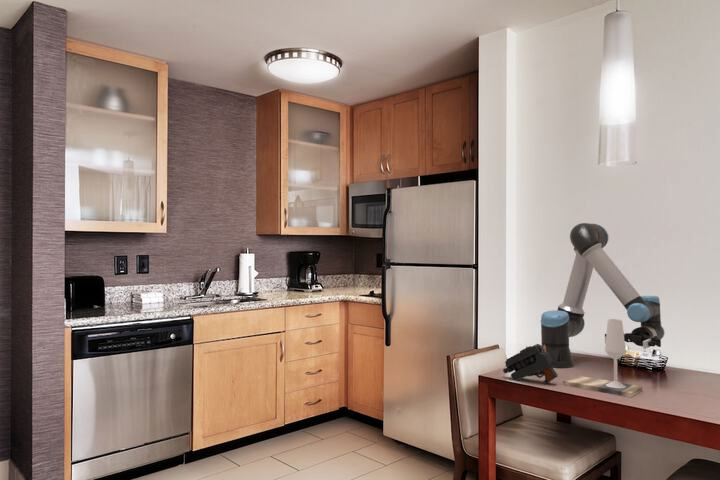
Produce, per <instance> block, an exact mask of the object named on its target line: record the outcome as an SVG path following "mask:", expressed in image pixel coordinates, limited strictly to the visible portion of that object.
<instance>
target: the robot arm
mask: <svg viewBox="0 0 720 480" xmlns="http://www.w3.org/2000/svg"><path fill="white" fill-rule="evenodd" d="M569 240H570V242H571V245H572V246H573V251H574V253H575V256H574V261H573V265H572V269H571V272H570V276H569V279H568V282H567V286H566V290H565V293H564V298H563V302H562V303H560V304H559V305H557V306H558V307H557V310H554V309H553V310H547V311H545V312H543V313H541V318H540V327H541V328H540V329H541V330H540V331H541V332H540V333H541V336H540V337H541V340H540V341H541V346H542V349H543V346H544V345H545V347H546V352H548V353H549V354H550V356H551V358H552V360H553V365H551V366H552V368H563V369H564V368H571V367H574V366H575V364H574V363H575V362H574V361H575V360H574V358H573V355H572V354H573V353H572V352H571V349H570V338H573V337H576V336H578V335H579V334H581V333H582V332H583V330H584V327H585V319H584V316H585V311H584V309H583V306H584V303H585V300H586V296H587V292H588V288H589V285H590V281H591V278H592V274H593V271H594V270H595V271H596V272H597V274H598V276H600V277H601V279H602V281H603V282H604V283H605V284H606V286H607V287H608V288H609V289H610V291H611V292H612V293H613V294H614V295H615V297H616V298H617V299H618V300H619V302H620V303H621V304H622V306H623V307H624V308H625V310H626V313H627V316H628V318H629V320H631V321H633V322H636V323H640V326H638V327H636V328H634V329H632V331H631V332H625V333H624V341H625V343H633V344H634V345H635V346H638V347H642V349H643V350H645V349H648V348H651V347H653V348H654V347H658V348H661V347H662V339H663V338H664V336H665V329H664V327H663V326H662V321H661V319H662V318H661V302H660V301H661V300H660V297H659V296H657V295H640V293H639V292H638V291H637V289H635V287H634V286H633V285H632V283H631V282H630V281H629V280H628V279H627V278H626V276H625V275H624V273H623V272H622V271H621V270H620V269H619V267H618V266H617V265H616V264H615V262H614V261H613V260H612V259H611V257H610V256H609V255H608V253H606V251H605V250H604V249H603V248H605V247H606V246H607V245H608V242H609V233H608V231H607V229H606V228H605V227H603V226H602V225H600V224H597V223H588V222H581V223H577V224H575V226H573V228H572V229H571V231H570V233H569ZM606 334H607V333H605V334H604V345H606Z"/></svg>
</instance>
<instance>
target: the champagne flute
mask: <svg viewBox="0 0 720 480" xmlns="http://www.w3.org/2000/svg"><path fill="white" fill-rule="evenodd" d="M605 334H606V344H605V347H604V350H605V353H606V354H607V355H608V356H609V357H610V358H611V359H613V380H611V381H612V382H610V383H608V384H606V386H608V387H612V388H626V386H624V385H623V384H621V383H622V382H620V381H619V380H618V360H619V359H620V358H622V357H623V356H624V355H625V353H626V342H625V341H624V334H625V333H624V325H623V320H622V319H616V318H612V319H611V318H610V319H609V318H608V319H607V325H606V333H605Z"/></svg>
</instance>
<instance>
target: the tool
mask: <svg viewBox="0 0 720 480" xmlns="http://www.w3.org/2000/svg"><path fill="white" fill-rule="evenodd" d="M530 346H531V345H529V346H527V348H526V347H525V348H523V349H521V350H519V352H518V353H516V354H514V355H512V356H510V357H509V358H507V359H506V360H505V368H503V369H502V372H503V373H504V374H507V373H509V374H510V373H511V372H512V373H511V374H510V377H511V378H512V380H513V381H515V380H516V381H518V380H520V379H523V378H526V377H529V376H528V375H531V374H533V373H535V374H536V375H535V376H536V377H537V378H542V377H544V380H542V382H543V383H544V385H547V384H549V383H550V382H551V381H554V379H557V377H558V376H559V375H558V373H557V372H556V370H555V369H554V367H552V366H551V365H553V360H552V358H551V356H550V354H549V353H548V352H545V351H542V350H543V349H542V344H539V343H536V344H535V345H532V346H531V347H530ZM538 371H539V372H541V374H543V373H544V375H538V374H537V372H538Z"/></svg>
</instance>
